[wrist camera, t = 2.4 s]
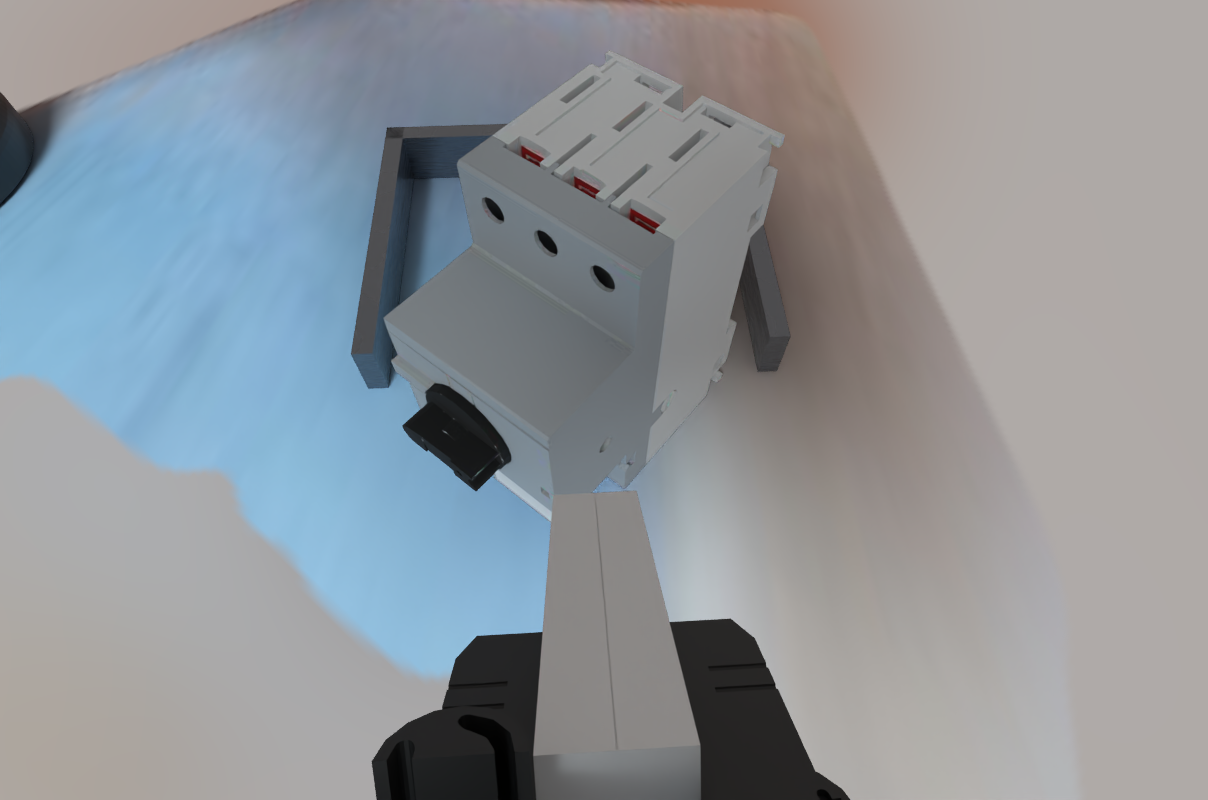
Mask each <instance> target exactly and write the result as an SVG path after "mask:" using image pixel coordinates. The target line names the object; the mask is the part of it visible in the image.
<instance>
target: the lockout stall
mask: <svg viewBox="0 0 1208 800" xmlns="http://www.w3.org/2000/svg"><path fill="white" fill-rule="evenodd" d="M714 121H716V122H718V123H720V124H722V125H724V126H726V127H728V128H731V127H732V126H730V125H728V124H726V123H724V122H722V121H720V120H718V119H716V118H714ZM506 125H507V124H495V125H461V126H428V127H394V128H387V132H386V138H385V144H384V151H383V157H382V163H381V169H380V176H379V182H378V188H377V194H376V201H375V207H374V213H373V219H372V226H371V232H370V238H369V245H368V251H367V257H366V263H365V270H364V276H363V282H362V288H361V295H360V301H359V307H358V313H357V320H356V326H355V332H354V339H353V345H352V351H351V355H352V357H353V359H354V361H355V363H356V365H357V367H358V369H359V371H360V373H361V375H362V377H363V379H364V381H365V383H366V385H367V387H368V388H388V386H389V378H390V370H391V360H392V354H393V342H392V340H391V337H390V335H389V333H388V330H387V327H386V324H385V321H384V317H385V316H386V315H388V314H389V313H390V312H391V311H392V310H394V309H395V308H396V307H397V306H398V304H399V296H400V288H401V280H402V272H403V264H404V255H405V247H406V239H407V231H408V223H409V214H410V206H411V198H412V190H413V182H414V179H418V178H448V177H459V173H458V168H457V163H458V160H459V159H461V158H462V157H463V156H465V155H466V154H467V153H469V152H470V151H472V150H473V149H474V148H476V147H477V146H478V145H480V144H481V143H483V142H484V141H485V140H487V139H488V138H489V137H491V136H492V135H494V134H495V133H496V132H498V131H499V130H500V129H502V128H503V127H505V126H506ZM739 282H740V287H741V292H742V297H743V302H744V306H745V311H746V316H747V321H748V326H749V331H750V335H751V340H752V345H753V350H754V355H755V360H756V365H757V369H758V372H761V371H777V370H778V367H779V364H780V362H781V359H782V357H783V354H784V352H785V349H786V346H787V344H788V341H789V339H790V332H789V328H788V324H787V320H786V316H785V311H784V307H783V303H782V299H781V295H780V291H779V287H778V283H777V279H776V274H775V270H774V266H773V262H772V258H771V254H770V250H769V246H768V242H767V237H766V233H765V229H764V225H762V226H761V227H760V228H759V229H758V230H757V231H756V232H755V233H754V234H753V235H752V236H751V238H750V242H749V246H748V250H747V253H746V257H745V261H744V265H743V269H742V273H741V277H740V281H739Z"/></svg>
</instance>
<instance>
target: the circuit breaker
mask: <svg viewBox="0 0 1208 800" xmlns="http://www.w3.org/2000/svg"><path fill="white" fill-rule="evenodd" d="M605 61H606V63H605V64H604V65H602V66H601V67H600V68H599V67H597V66H595V65H593V64H590V65H589V66H587V67H586V68H584V69H583V70H582V71H580V72H579V73H578V74H576V75H575V76H573V77H572V78H571V79H569V80H568V81H566V82H565V83H564V84H562V85H561V86H560V87H558V88H557V89H555V90H554V91H553V92H551V93H550V94H549V95H547V96H546V97H544V98H543V99H542V100H540V101H539V102H538V103H536V104H535V105H533V106H532V107H531V108H529V109H528V110H527V111H525V112H524V113H522V114H521V115H520V116H518V117H517V118H516V119H514V120H513V121H511V122H510V123H509V124H507V125H506V126H505V127H503V128H502V129H500V130H499V131H498V132H496V133H495V134H494V135H492V136H491V137H489V138H488V139H487V140H485V141H484V142H483V143H481V144H480V145H478V146H477V147H476V148H474V149H473V150H472V151H470V152H469V153H467V154H466V155H465V156H463V157H462V158H461V159H459V160H458V163H457V168H458V173H459V178H460V182H461V187H462V192H463V197H464V202H465V206H466V211H467V216H468V221H469V225H470V230H471V235H472V240H473V243H472V246H471V247H470V248H468V249H467V250H466V251H465V252H463V253H462V254H461V255H460V256H459V257H457V258H456V259H455V260H454V261H452V262H451V263H450V264H449V265H448V266H446V267H445V268H444V269H443V270H441V271H440V272H439V273H438V274H437V275H435V276H434V277H433V278H432V279H430V280H429V281H428V282H427V283H426V284H424V285H423V286H422V287H421V288H419V289H418V290H417V291H416V292H414V293H413V294H412V295H411V296H410V297H408V298H407V299H406V300H405V301H403V302H402V303H401V304H400V305H399V306H397V307H396V308H395V309H394V310H392V311H391V312H390V313H389V314H388V315H386V316H385V317H384V321H385V324H386V327H387V330H388V333H389V335H390V337H391V340H392V342H393V345H394V347H395V349H396V352H397V354H398V355H397V356H396V357H395V358H394V359H393V360H391V362H392V364H393V366H394V369H395V371H396V372H397V373H398V374H400V375H401V376H402V377H403V378H405V379H406V380H407V381H408V382H410V385H411V388H412V390H413V393H414V395H415V397H416V400H417V402H418V405H419V407H420V410H419V411H418V412H417V413H416V414H415V415H414V416H413V417H411V418H410V419H409V420H408V421H407V422H406V423H405V424H404V425H403V429H404V431H405V432H406V433H407V434H408V436H409V437H410V438H411V439H412V440H413V441H414V442H416V443H417V444H418V445H419V446H420V447H422V448H423V449H424V450H425V451H428V450H429V451H430V452H431V453H433V454H434V455H435V456H436V457H438V458H439V459H440V460H441V461H443V462H444V463H445V464H446V465H447V466H449V467H450V468H451V469H452V470H453V471H454V473H455V475H456V476H457V477H459V478H460V479H461V480H462V481H464V482H465V483H466V484H467V485H469V486H470V487H471V488H472V489H474V490H475V491H477V490H478V489H479V488H480V487H481V486H482V485H483V484H484V483H485V482H486V481H487V480H488V479H489V478H490V477H491V476H492V475H494V476H495V477H494V478H495V479H496V480H498V481H499V482H500V483H501V484H503V485H504V486H505V487H506V488H508V489H509V490H510V491H511V492H513V493H514V494H515V495H516V496H518V497H519V498H520V499H522V500H523V501H524V502H525V503H527V504H528V505H529V506H530V507H532V508H533V509H534V510H535V511H537V512H538V513H539V514H540V515H542V516H543V517H544V518H546V519H547V520H548V521H549V522H551V517H552V504H553V495H564V494H584V493H592V492H593V491H594V490H595V489H596V487H597V486H598V485H599V484H600V483H601V482H602V481H603V480H604V479H605V477H606V476H607V477H609V478H610V479H611V480H613V481H614V482H615V483H617V484H618V485H619V486H621V487H622V488H623V489H625V488H626V487H627V486H628V485H629V484H630V483H631V481H632V480H633V479H634V478H635V477H636V476H637V475H638V473H639V472H640V471H641V470H642V469H643V468H644V466H645V465H646V464H647V463H648V462H649V461H650V460H651V458H652V457H653V456H654V455H655V454H656V453H657V452H658V450H659V449H660V448H661V447H662V446H663V445H664V443H665V442H666V441H667V440H668V439H669V438H670V437H671V435H672V434H673V433H674V432H675V431H676V430H677V428H678V427H679V426H680V425H681V424H682V423H683V422H684V420H685V419H686V418H687V417H688V416H689V415H690V414H691V412H692V411H693V410H694V409H695V408H696V407H697V405H698V404H699V403H700V402H701V401H702V400H703V399H704V397H705V396H706V395H707V393H708V389H709V385H710V381H711V379H712V380H713V381H715V382H716V383H717V382H718V381H719V380H720V379H721V378H722V375H723V373H721V372H720V371H718V369H719V368H720V367H721V366H722V365H723V364H724V363H725V361H726V360H727V356H728V353H729V349H730V345H731V342H732V338H733V334H734V331H735V327H736V322H735V321H733V320H731V319H730V316H731V312H732V308H733V304H734V300H735V296H736V292H737V289H738V285H739V281H740V277H741V273H742V269H743V265H744V261H745V257H746V253H747V250H748V246H749V242H750V238H751V236H752V235H753V234H754V233H755V232H756V231H757V230H758V229H759V228H760V227H761V226H762V225H763V224H764V220H765V217H766V213H767V209H768V206H769V202H770V198H771V195H772V191H773V187H774V184H775V180H776V175H777V170H778V169H776V168H774V167H772V166H770V165H768V164H769V159H770V154H771V148H772V145H774V146H776V147H778V148H779V147H780V146H781V145H782V144H783V141H784V136H785V135H783V134H781V133H779V132H777V131H775V130H773V129H771V128H769V127H767V126H765V125H763V124H761V123H758V122H756V121H754V120H752V119H750V118H748V117H746V116H744V115H742V114H740V113H738V112H736V111H734V110H732V109H730V108H728V107H726V106H723V105H721V104H719V103H717V102H715V101H713V100H711V99H709V98H707V97H705V96H703V95H702V96H701V97H700V98H699V99H698V100H696V101H695V102H694V103H693V104H692V105H690V106H689V107H688V108H687V109H686V110H685V111H683V112H682V106H683V86H682V85H680V84H678V83H676V82H674V81H672V80H670V79H668V78H666V77H664V76H662V75H660V74H658V73H656V72H654V71H651V70H649V69H647V68H645V67H643V66H641V65H639V64H637V63H635V62H633V61H631V60H629V59H627V58H625V57H623V56H621V55H619V54H616V53H614V52H612V51H610V50H609V51H608V52H606V53H605ZM649 86H651V87H654V88H656V89H658V90H660V91H662V93H661V94H660V93H658V92H656V91H654V90H652V89H650V88H649ZM714 118H716V119H718V120H720V121H722V122H724V123H726V124H728V125H730V126H732V127H731V128H728V127H726V126H724V125H722V124H720V123H718V122H716V121H714Z"/></svg>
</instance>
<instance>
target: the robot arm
mask: <svg viewBox="0 0 1208 800" xmlns="http://www.w3.org/2000/svg"><path fill="white" fill-rule="evenodd" d="M32 154H33V137H32V134H31V131H30V129H29V127H28V125H27V124H26V123H25V121H24V120H23V119H22V118H21V116H20V115H19V114H18V113H17V111H16V110H15V109H14V108H13V107H12V105H11V104H10V103H9V102H8V100H7V99H6V98H5V97H4V96H3V95H2V94H1V93H0V203H1V202H2V201H3V200H4V199H5V198H6V197H7V196H8V195H9V194H10V193H11V192H12V191H13V190H14V188H15V187H16V186H17V185H18V183H19V182H20V180H21V179H22V178H23V176H24V174H25V173H26V171H27V169H28V166H29V164H30V161H31V158H32ZM372 767H373V775H374V782H375V790H376V797H377V800H850V799H849V798H848V796H847V795H846V794H845V792H844V791H843V790H842V789H841V788H840V787H838V786H837V785H835V784H834V783H833V782H831V781H830V780H828V779H827V778H825V777H824V776H823V775H821V774H820V773H818V772H815V770H814V768H813V765H812V763H811V761H810V759H809V757H808V754H807V752H806V750H805V748H804V746H803V743H802V741H801V739H800V737H799V735H798V732H797V730H796V728H795V726H794V724H793V721H792V719H791V717H790V715H789V713H788V710H787V708H786V706H785V704H784V702H783V699H782V697H781V695H780V693H779V691H778V689H776V687H775V682H774V680H773V677H772V675H771V673H770V671H769V669H768V668H766V662H765V660H764V658H763V656H762V653H761V651H760V649H759V647H758V645H757V642H756V640H755V638H754V637H752V636H751V635H750V634H749V633H747V632H746V631H745V630H744V629H743V628H741V627H740V626H739V625H738V624H736V623H735V622H734V621H733V620H732V619H718V620H700V621H683V622H669V618H668V614H667V610H666V607H665V603H664V599H663V595H662V591H661V587H660V583H659V579H658V575H657V571H656V567H655V563H654V559H653V555H652V551H651V547H650V543H649V539H648V535H647V531H646V527H645V523H644V519H643V515H642V511H641V507H640V503H639V499H638V495H637V491H623V492H603V493H584V494H564V495H553V504H552V517H551V530H550V544H549V557H548V570H547V583H546V596H545V609H544V622H543V632H538V633H521V634H503V635H486V636H477V637H476V638H475V639H474V640H473V641H472V642H471V643H470V644H469V645H468V646H467V647H466V648H465V649H464V650H463V652H462V653H461V654H460V655H459V656H458V657H457V658H456V660H455V663H454V667H453V670H452V674H451V678H450V681H449V689H448V690H447V692H446V696H445V699H444V703H443V706H442V710H437V711H433V712H431V713H429V714H427V715H424V716H422V717H420V718H417V719H415V720H413V721H411V722H408V723H407V724H406V725H404V726H403V727H402V728H400V729H399V730H398V731H397V732H396V733H394V734H393V735H392V736H390V737H389V738H388V739H386V740H385V742H384V743H383V745H382V746H381V748H380V750H379V751H378V753H377V754H376V756H375V757H374V759H373V760H372Z"/></svg>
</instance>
